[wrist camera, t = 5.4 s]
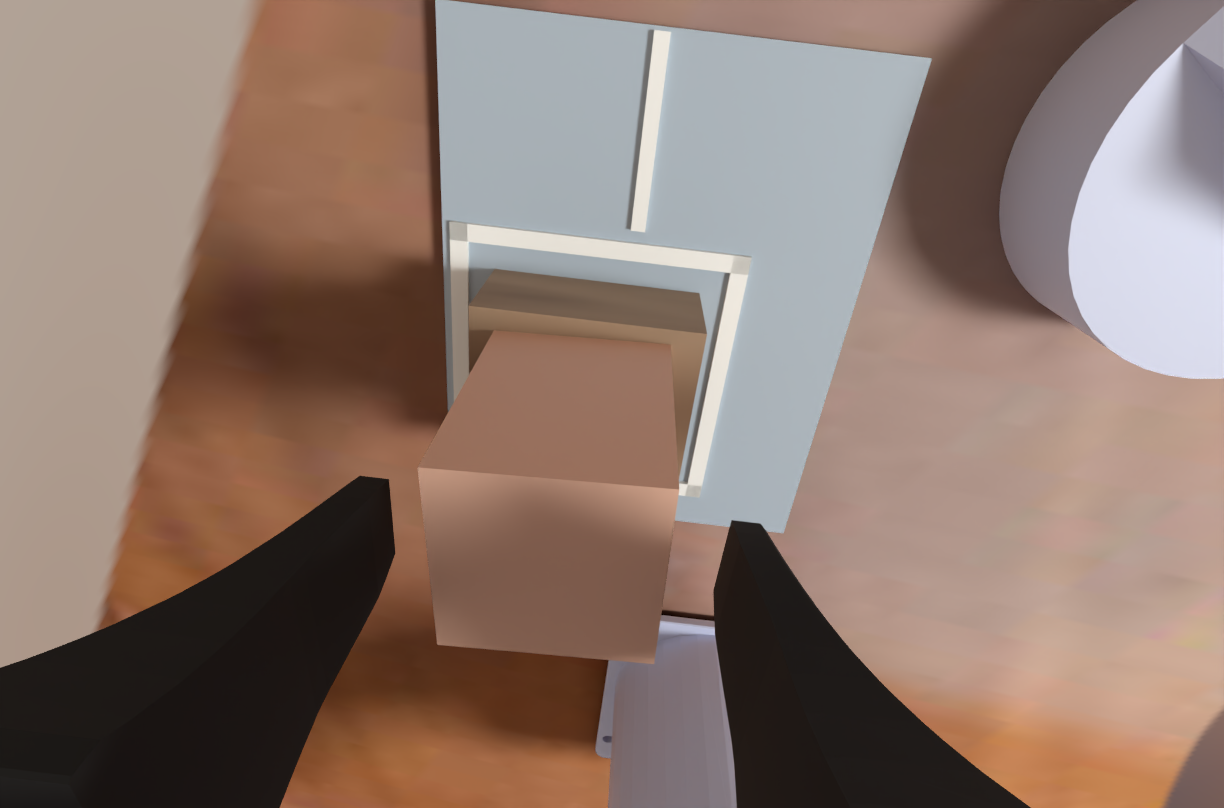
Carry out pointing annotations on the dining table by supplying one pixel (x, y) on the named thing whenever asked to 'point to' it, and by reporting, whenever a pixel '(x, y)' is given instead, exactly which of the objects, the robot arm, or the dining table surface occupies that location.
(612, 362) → the column block
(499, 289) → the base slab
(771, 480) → the board
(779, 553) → the robot arm
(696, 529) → the dining table surface
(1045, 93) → the wedge on round base
